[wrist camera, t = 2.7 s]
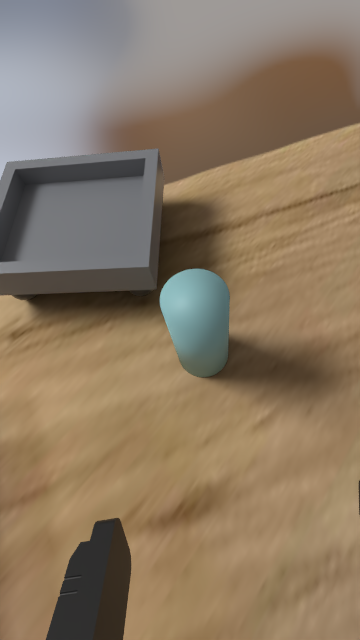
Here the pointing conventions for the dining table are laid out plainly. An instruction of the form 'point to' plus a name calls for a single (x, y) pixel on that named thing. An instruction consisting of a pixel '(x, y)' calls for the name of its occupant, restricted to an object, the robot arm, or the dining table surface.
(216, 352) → the teal cylinder
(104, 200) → the grey square tray
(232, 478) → the dining table surface
